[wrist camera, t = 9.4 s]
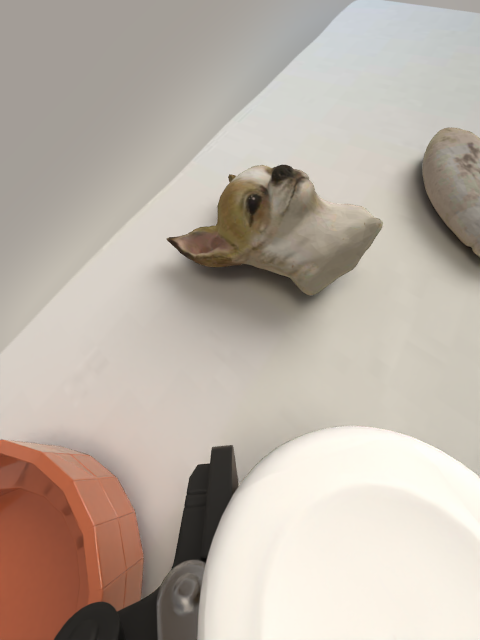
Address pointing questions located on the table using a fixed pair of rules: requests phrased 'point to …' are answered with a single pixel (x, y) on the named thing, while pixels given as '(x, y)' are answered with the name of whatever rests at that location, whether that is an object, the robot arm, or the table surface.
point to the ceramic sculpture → (282, 229)
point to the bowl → (62, 539)
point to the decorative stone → (455, 182)
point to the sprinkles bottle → (347, 544)
